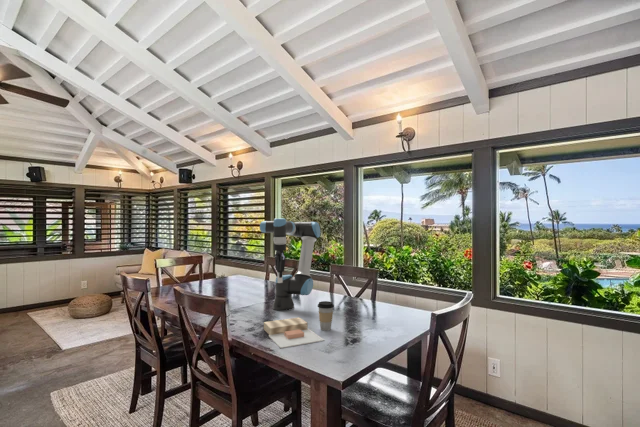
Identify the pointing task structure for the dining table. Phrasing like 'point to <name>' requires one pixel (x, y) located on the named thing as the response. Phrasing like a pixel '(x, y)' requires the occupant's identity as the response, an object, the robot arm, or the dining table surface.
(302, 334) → the tile
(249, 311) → the dining table surface
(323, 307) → the coffee cup
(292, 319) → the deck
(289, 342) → the mat
